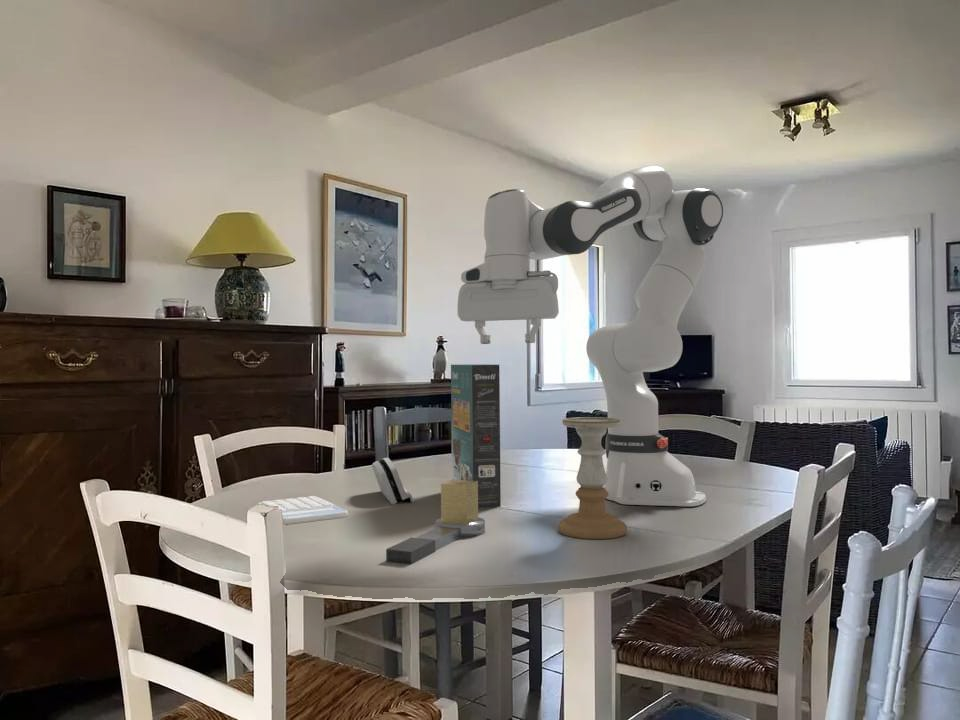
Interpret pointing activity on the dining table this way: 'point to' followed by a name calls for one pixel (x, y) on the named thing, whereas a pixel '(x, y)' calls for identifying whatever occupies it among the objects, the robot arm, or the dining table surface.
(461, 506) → the tan rectangular block
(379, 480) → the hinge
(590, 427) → the candle holder
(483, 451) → the cake mix box
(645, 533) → the dining table surface
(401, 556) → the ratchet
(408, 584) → the dining table surface
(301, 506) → the calculator
